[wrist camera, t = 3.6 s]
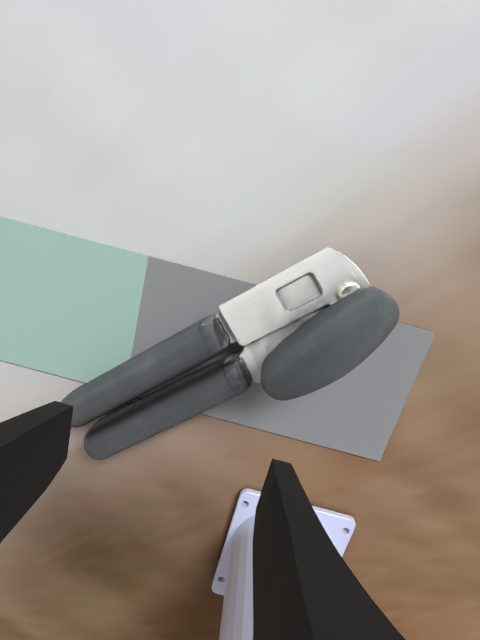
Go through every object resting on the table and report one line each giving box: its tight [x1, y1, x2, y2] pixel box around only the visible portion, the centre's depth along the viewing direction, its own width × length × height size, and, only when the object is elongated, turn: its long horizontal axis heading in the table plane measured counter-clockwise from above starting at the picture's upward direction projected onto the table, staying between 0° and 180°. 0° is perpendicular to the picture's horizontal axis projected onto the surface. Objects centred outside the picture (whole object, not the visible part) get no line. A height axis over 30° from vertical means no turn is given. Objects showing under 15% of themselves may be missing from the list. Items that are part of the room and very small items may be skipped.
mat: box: [0, 217, 436, 461], centre depth 21 cm, size 9×39×1 cm, turn 76°
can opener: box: [61, 247, 399, 460], centre depth 18 cm, size 19×5×6 cm, turn 120°
